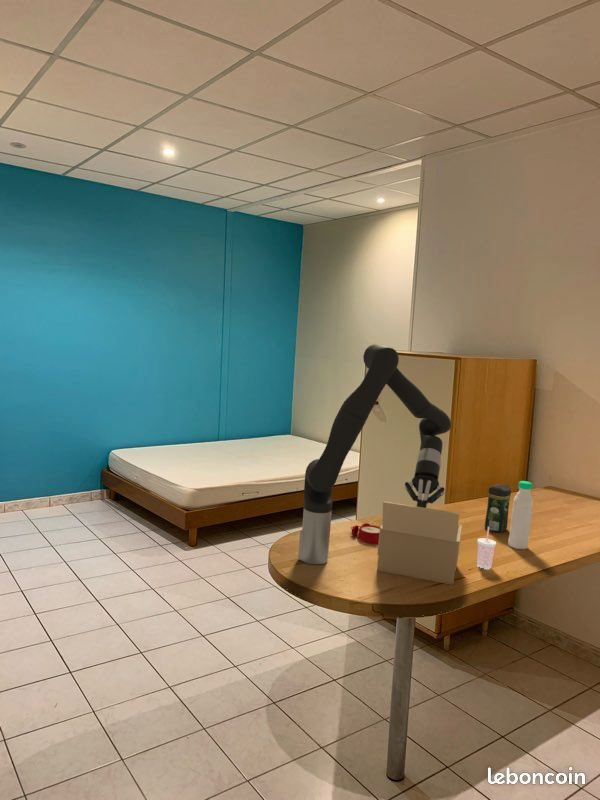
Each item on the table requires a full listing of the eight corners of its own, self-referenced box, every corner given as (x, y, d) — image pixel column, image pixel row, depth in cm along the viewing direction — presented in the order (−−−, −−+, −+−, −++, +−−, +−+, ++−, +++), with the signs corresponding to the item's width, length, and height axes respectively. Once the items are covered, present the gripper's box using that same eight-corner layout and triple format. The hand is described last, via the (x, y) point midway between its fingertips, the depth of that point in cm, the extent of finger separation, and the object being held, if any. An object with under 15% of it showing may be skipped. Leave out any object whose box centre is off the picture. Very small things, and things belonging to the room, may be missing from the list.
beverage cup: (470, 564, 208) (475, 525, 206) (482, 562, 212) (487, 523, 210) (485, 571, 203) (490, 531, 201) (497, 568, 207) (501, 528, 205)
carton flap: (382, 528, 195) (382, 529, 195) (383, 501, 190) (382, 502, 189) (456, 541, 188) (456, 542, 188) (459, 513, 183) (459, 514, 183)
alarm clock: (374, 537, 218) (346, 517, 228) (370, 552, 220) (342, 531, 230) (394, 532, 225) (365, 513, 235) (389, 547, 226) (361, 527, 237)
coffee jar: (490, 524, 256) (495, 481, 254) (509, 529, 251) (514, 485, 249) (481, 528, 249) (486, 484, 247) (500, 534, 244) (505, 489, 242)
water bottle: (531, 550, 228) (539, 484, 225) (513, 549, 227) (521, 484, 224) (521, 543, 235) (529, 479, 232) (504, 543, 233) (512, 479, 230)
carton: (375, 570, 197) (379, 528, 195) (385, 551, 214) (388, 512, 213) (454, 585, 190) (459, 541, 188) (457, 564, 207) (462, 524, 206)
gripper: (407, 456, 197) (398, 503, 187) (449, 461, 193) (442, 510, 183) (407, 468, 202) (399, 515, 192) (448, 474, 199) (442, 522, 189)
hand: (420, 512), depth 188 cm, fingers closed
